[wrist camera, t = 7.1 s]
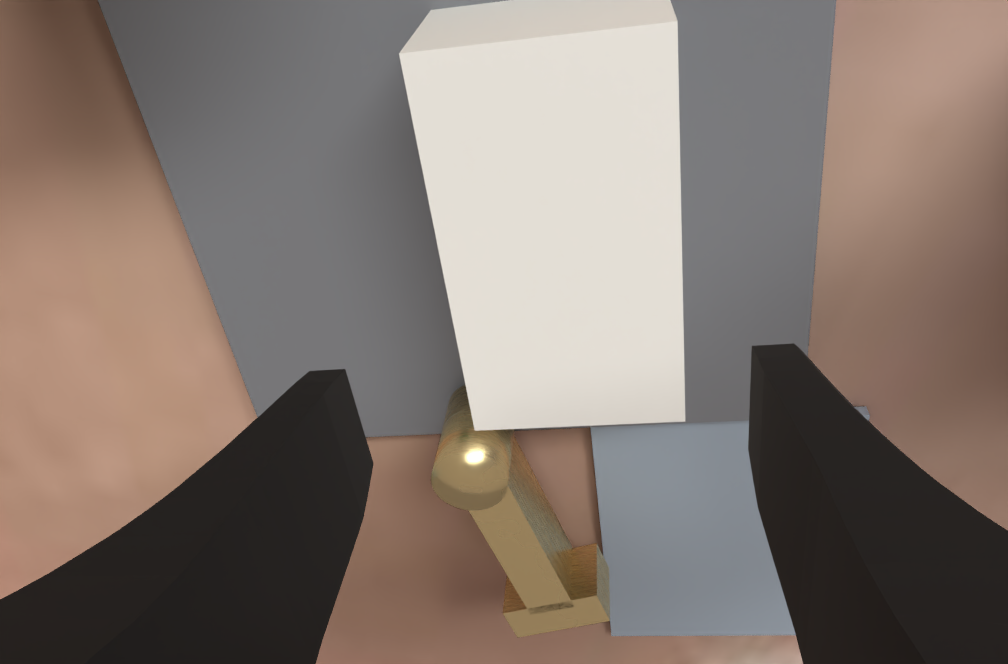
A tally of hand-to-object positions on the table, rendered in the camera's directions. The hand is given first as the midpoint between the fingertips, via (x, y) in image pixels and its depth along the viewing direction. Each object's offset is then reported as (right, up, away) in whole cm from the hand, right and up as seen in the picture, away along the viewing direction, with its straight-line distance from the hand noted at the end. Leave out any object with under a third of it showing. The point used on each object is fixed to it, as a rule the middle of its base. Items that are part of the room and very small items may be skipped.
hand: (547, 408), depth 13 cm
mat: (+7, -5, +14) cm, 17 cm away
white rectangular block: (+1, +5, +7) cm, 8 cm away
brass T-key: (0, -3, +12) cm, 13 cm away
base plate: (-1, +5, +8) cm, 10 cm away
